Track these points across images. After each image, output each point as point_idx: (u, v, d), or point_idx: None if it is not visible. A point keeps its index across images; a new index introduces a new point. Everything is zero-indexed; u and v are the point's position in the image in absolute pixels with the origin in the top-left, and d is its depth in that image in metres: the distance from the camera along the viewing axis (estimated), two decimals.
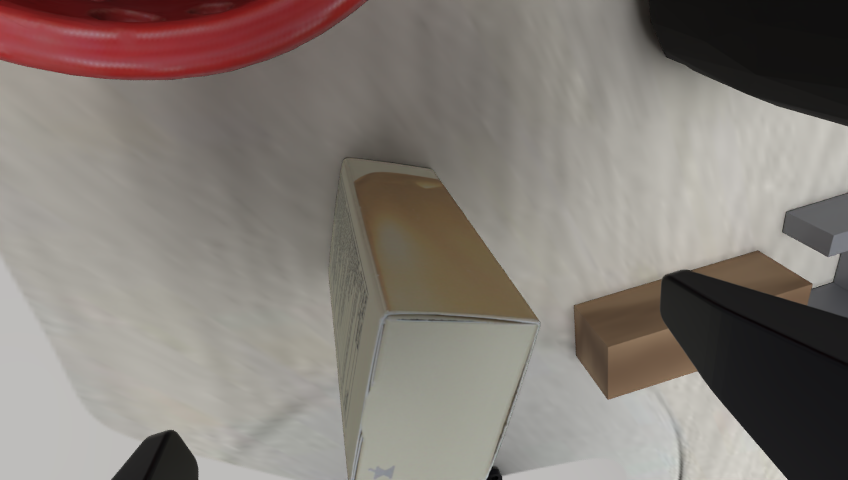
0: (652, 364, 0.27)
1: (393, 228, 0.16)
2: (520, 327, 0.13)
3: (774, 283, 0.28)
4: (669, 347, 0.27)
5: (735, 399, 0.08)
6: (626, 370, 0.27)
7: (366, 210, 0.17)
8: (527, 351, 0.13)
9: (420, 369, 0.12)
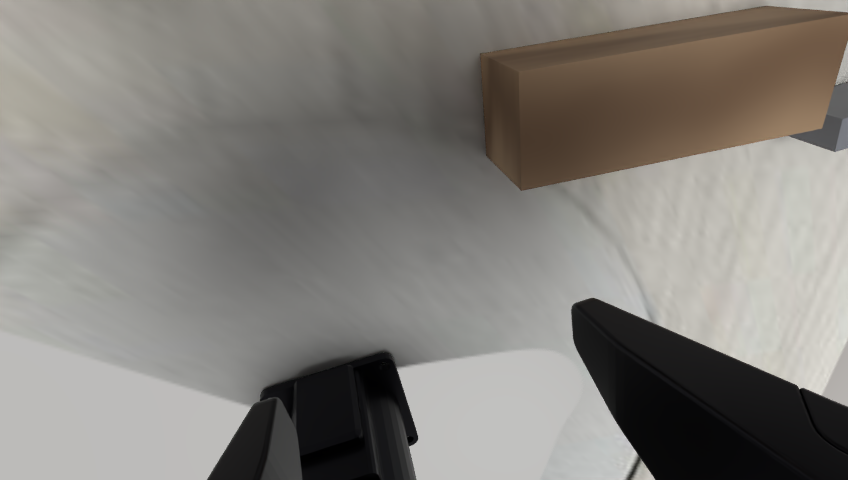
0: (594, 128, 0.17)
1: None
2: None
3: (794, 18, 0.17)
4: (622, 98, 0.16)
5: (634, 434, 0.08)
6: (551, 132, 0.16)
7: None
8: None
9: None
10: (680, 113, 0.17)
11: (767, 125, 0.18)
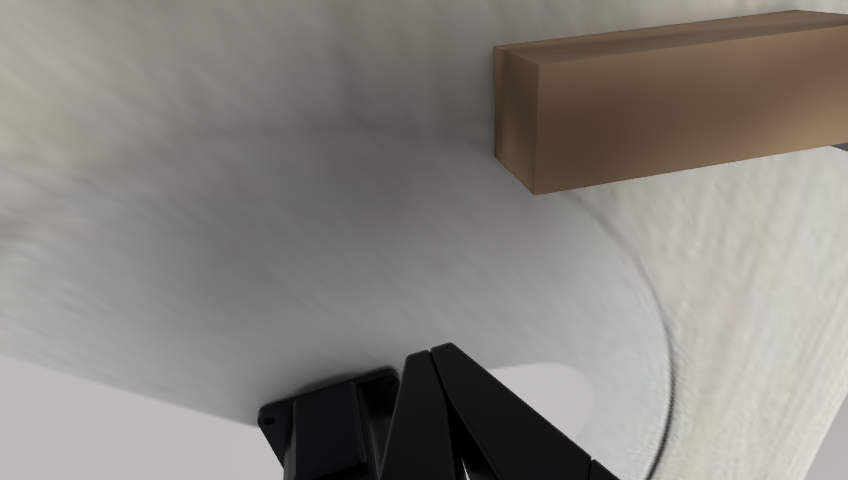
0: (616, 131, 0.15)
1: None
2: None
3: (831, 21, 0.16)
4: (648, 99, 0.15)
5: None
6: (570, 133, 0.15)
7: None
8: None
9: None
10: (707, 118, 0.16)
11: (797, 135, 0.17)
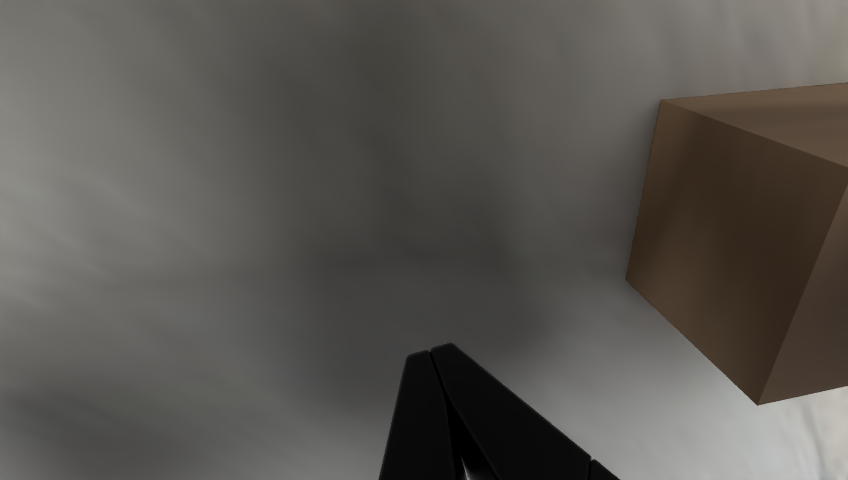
0: None
1: None
2: None
3: None
4: None
5: None
6: None
7: None
8: None
9: None
10: None
11: None
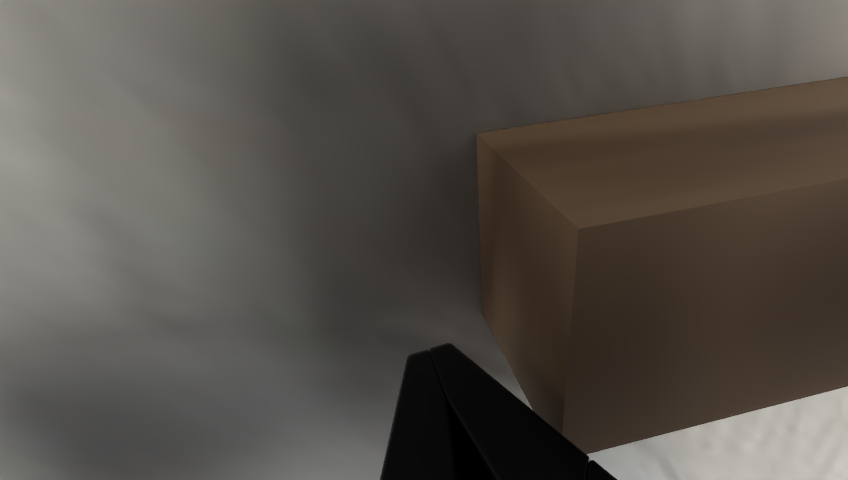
0: (740, 336, 0.07)
1: None
2: None
3: None
4: (816, 275, 0.07)
5: None
6: (642, 352, 0.07)
7: None
8: None
9: None
10: None
11: None
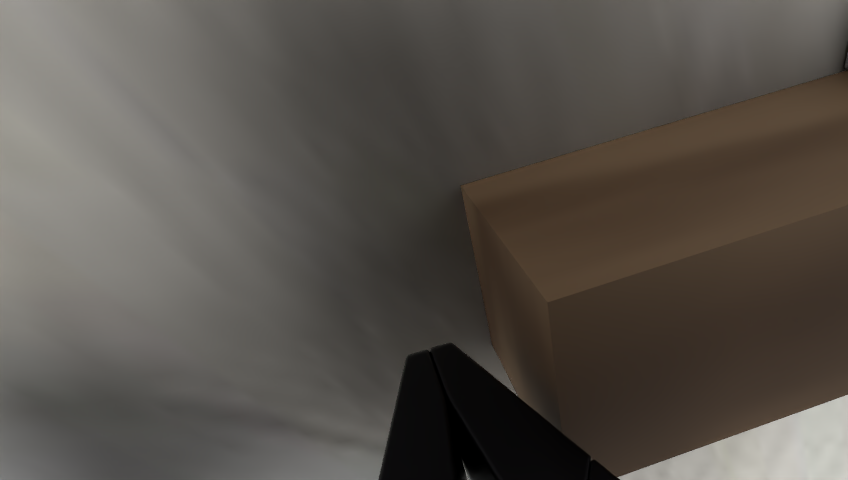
0: (728, 366, 0.07)
1: None
2: None
3: None
4: (796, 303, 0.07)
5: None
6: (632, 394, 0.07)
7: None
8: None
9: None
10: None
11: None
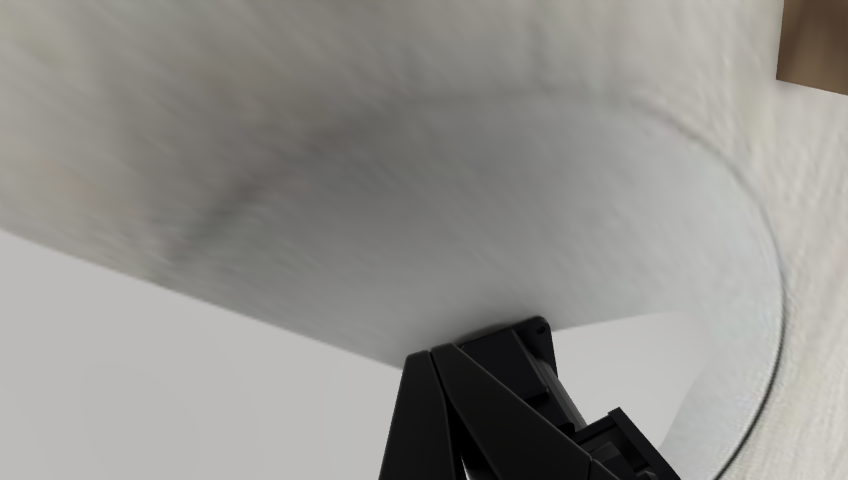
0: None
1: None
2: None
3: None
4: None
5: None
6: None
7: None
8: None
9: None
10: None
11: None
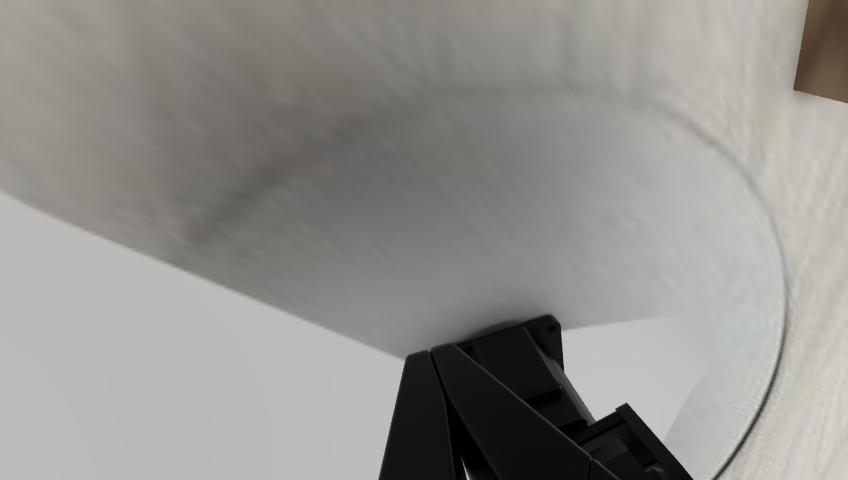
0: None
1: None
2: None
3: None
4: None
5: None
6: None
7: None
8: None
9: None
10: None
11: None
